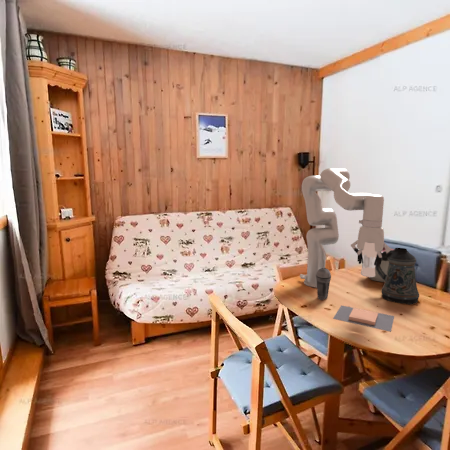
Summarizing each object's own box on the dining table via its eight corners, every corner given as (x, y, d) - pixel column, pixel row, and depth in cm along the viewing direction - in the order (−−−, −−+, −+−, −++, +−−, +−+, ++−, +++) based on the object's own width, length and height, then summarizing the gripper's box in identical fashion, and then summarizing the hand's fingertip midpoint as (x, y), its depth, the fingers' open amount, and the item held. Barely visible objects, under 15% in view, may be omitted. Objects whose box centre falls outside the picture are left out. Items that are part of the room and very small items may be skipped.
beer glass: (356, 272, 143) (358, 239, 140) (371, 272, 144) (374, 239, 141) (364, 277, 136) (367, 243, 134) (380, 277, 137) (383, 242, 134)
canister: (404, 284, 178) (407, 247, 174) (371, 284, 178) (374, 247, 174) (388, 274, 195) (391, 240, 192) (358, 274, 196) (360, 240, 192)
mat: (332, 319, 136) (332, 318, 136) (341, 306, 150) (341, 305, 150) (390, 332, 125) (390, 331, 125) (394, 317, 138) (394, 316, 138)
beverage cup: (330, 296, 161) (332, 258, 158) (330, 302, 154) (332, 262, 151) (315, 295, 164) (316, 256, 160) (314, 300, 157) (315, 260, 154)
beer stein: (424, 306, 149) (429, 254, 145) (379, 303, 153) (383, 252, 149) (411, 293, 165) (415, 245, 161) (371, 290, 169) (374, 244, 165)
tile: (353, 311, 143) (348, 319, 135) (353, 307, 143) (348, 316, 134) (377, 316, 138) (374, 325, 130) (378, 312, 138) (375, 322, 129)
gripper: (348, 223, 138) (346, 263, 141) (394, 227, 129) (390, 270, 132) (352, 221, 144) (349, 259, 147) (395, 224, 135) (392, 265, 138)
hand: (369, 264), depth 139 cm, fingers closed on beer glass, 6 cm apart
